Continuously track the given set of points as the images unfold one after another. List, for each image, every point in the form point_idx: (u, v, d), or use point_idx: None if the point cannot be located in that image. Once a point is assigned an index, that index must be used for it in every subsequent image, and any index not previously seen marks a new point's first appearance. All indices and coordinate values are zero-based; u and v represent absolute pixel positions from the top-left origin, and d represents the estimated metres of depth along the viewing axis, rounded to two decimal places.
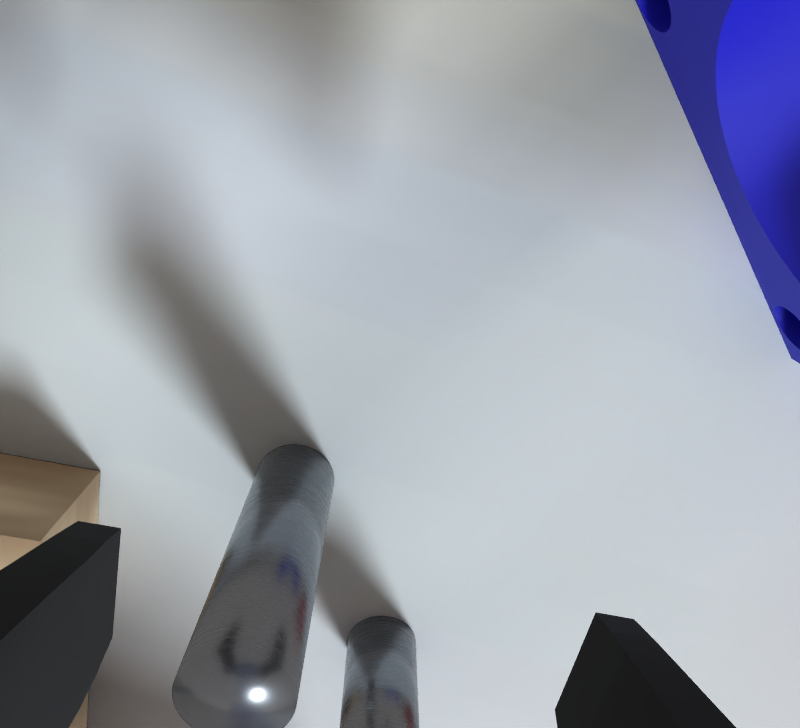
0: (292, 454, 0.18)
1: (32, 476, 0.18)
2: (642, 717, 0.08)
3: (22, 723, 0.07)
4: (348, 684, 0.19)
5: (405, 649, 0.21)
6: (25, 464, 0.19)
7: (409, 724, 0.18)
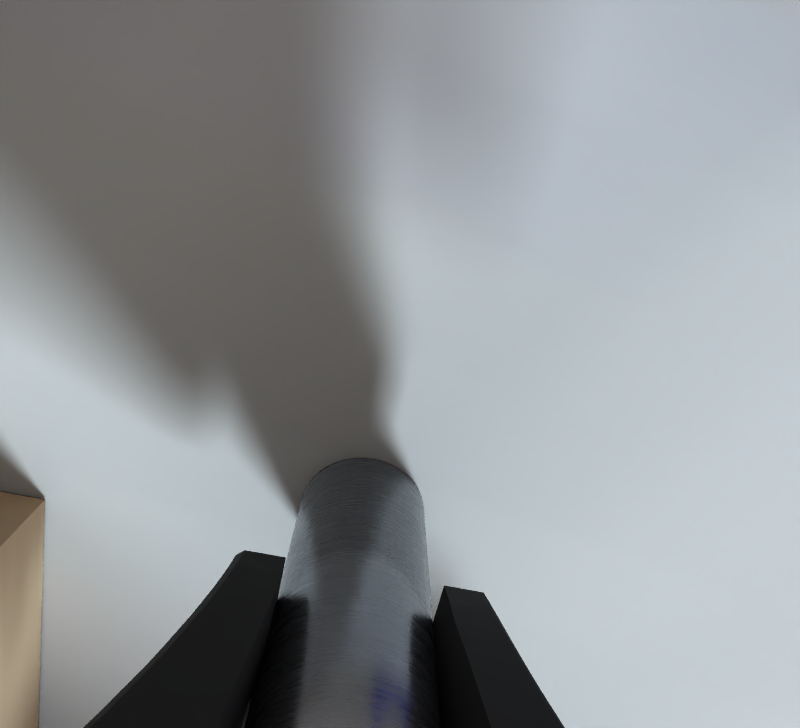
0: (362, 474, 0.11)
1: None
2: (459, 687, 0.07)
3: None
4: None
5: None
6: None
7: None
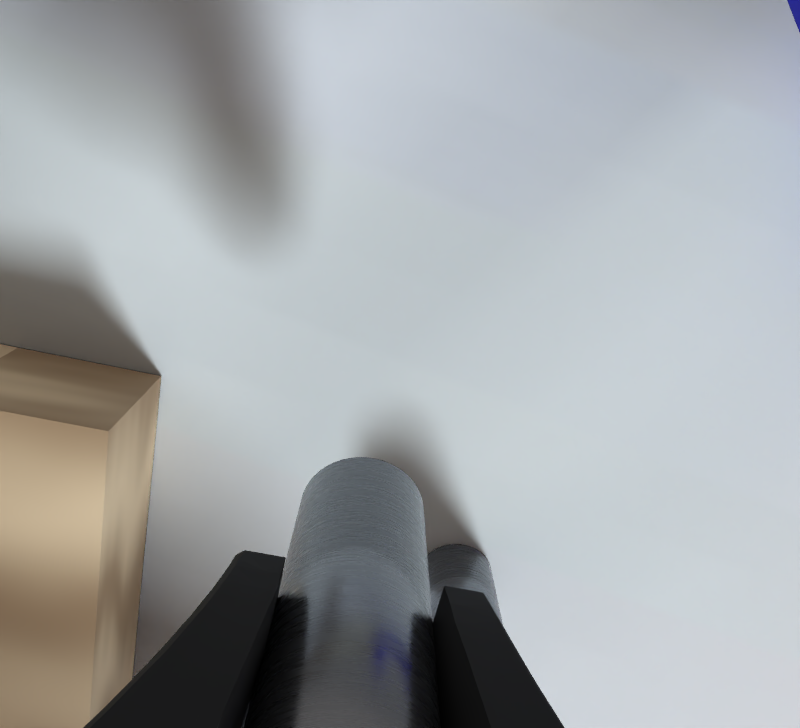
0: (362, 474, 0.11)
1: (90, 375, 0.17)
2: (459, 687, 0.07)
3: None
4: None
5: (485, 577, 0.19)
6: (81, 365, 0.17)
7: None
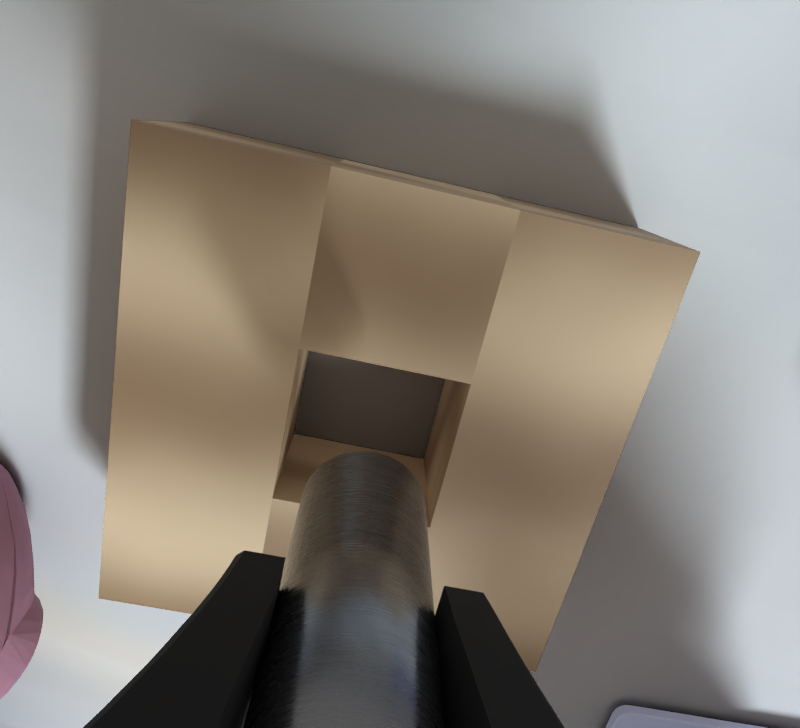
0: (368, 468, 0.11)
1: (591, 219, 0.16)
2: (459, 687, 0.07)
3: None
4: None
5: None
6: (567, 212, 0.16)
7: None
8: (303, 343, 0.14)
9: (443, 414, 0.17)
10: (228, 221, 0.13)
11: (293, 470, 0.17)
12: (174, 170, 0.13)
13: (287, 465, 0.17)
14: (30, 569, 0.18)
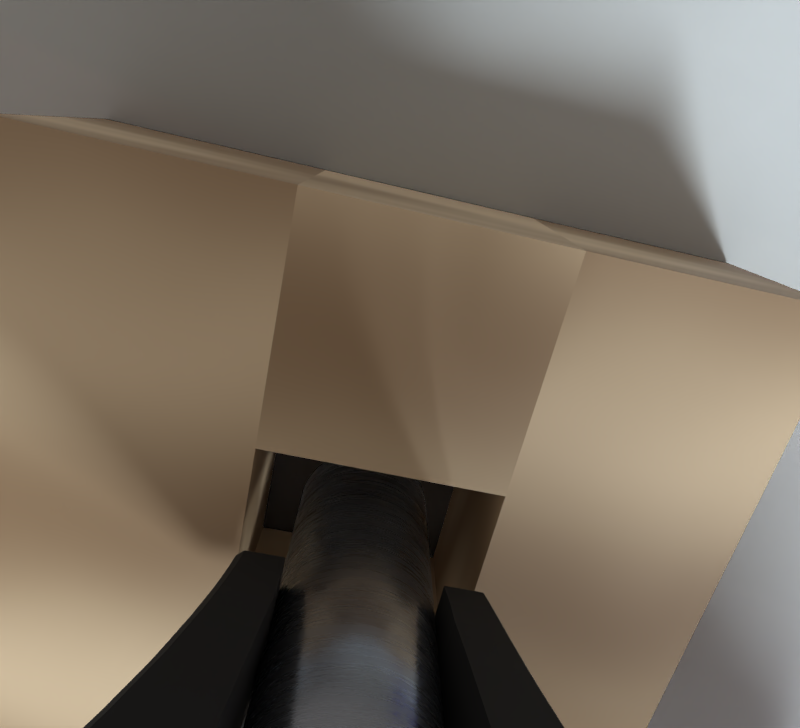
0: None
1: (669, 253, 0.11)
2: (459, 687, 0.07)
3: None
4: None
5: None
6: (632, 242, 0.12)
7: None
8: (261, 441, 0.09)
9: (460, 512, 0.13)
10: (144, 267, 0.09)
11: None
12: (58, 191, 0.08)
13: None
14: None
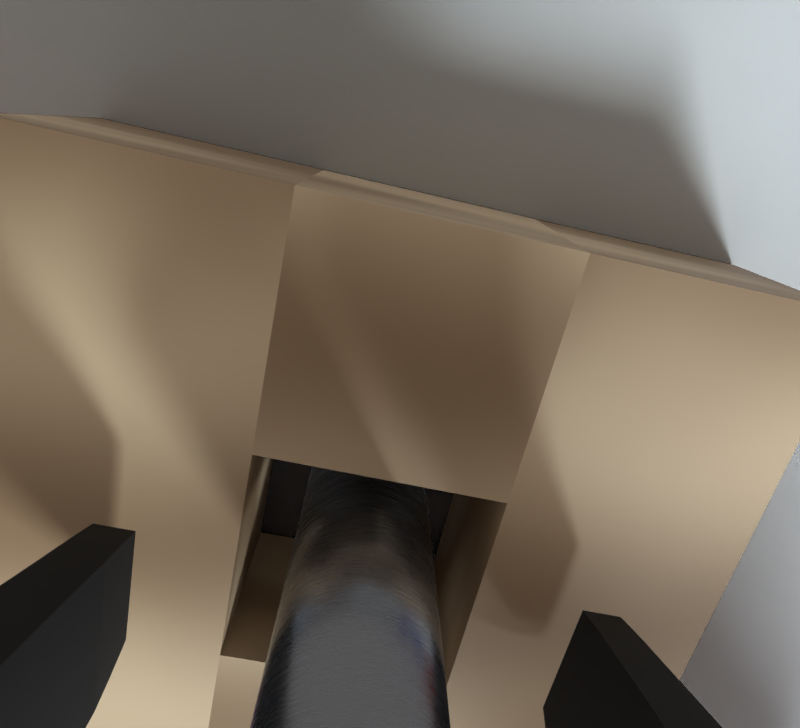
0: None
1: (674, 255, 0.11)
2: (626, 715, 0.08)
3: (41, 726, 0.07)
4: None
5: None
6: (636, 243, 0.11)
7: None
8: (258, 447, 0.09)
9: (461, 518, 0.12)
10: (138, 269, 0.08)
11: (255, 598, 0.12)
12: (48, 192, 0.08)
13: (247, 590, 0.12)
14: None
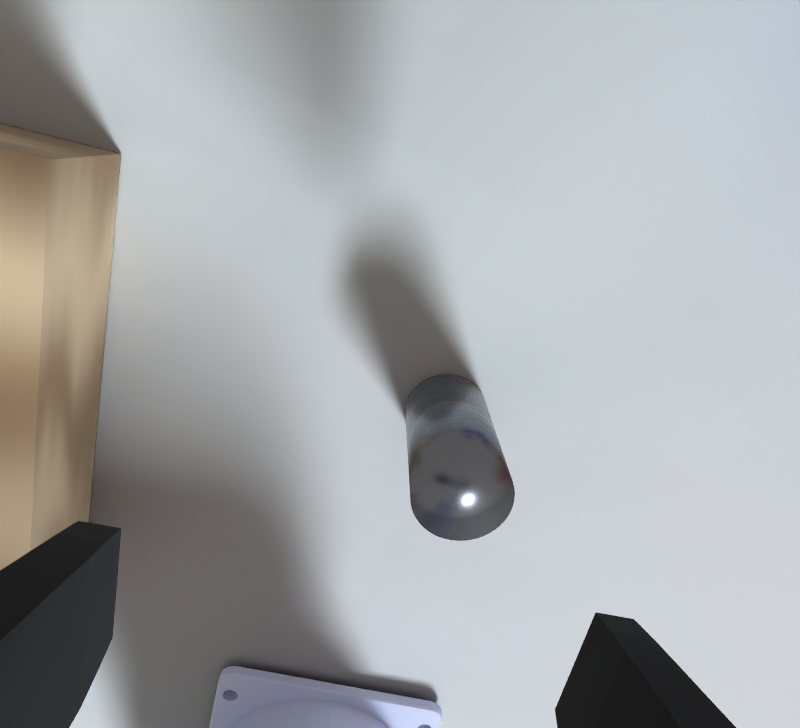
0: None
1: (38, 138, 0.15)
2: (642, 717, 0.08)
3: (22, 723, 0.07)
4: (418, 425, 0.16)
5: (482, 404, 0.17)
6: (29, 132, 0.15)
7: (501, 455, 0.15)
8: None
9: None
10: None
11: None
12: None
13: None
14: None
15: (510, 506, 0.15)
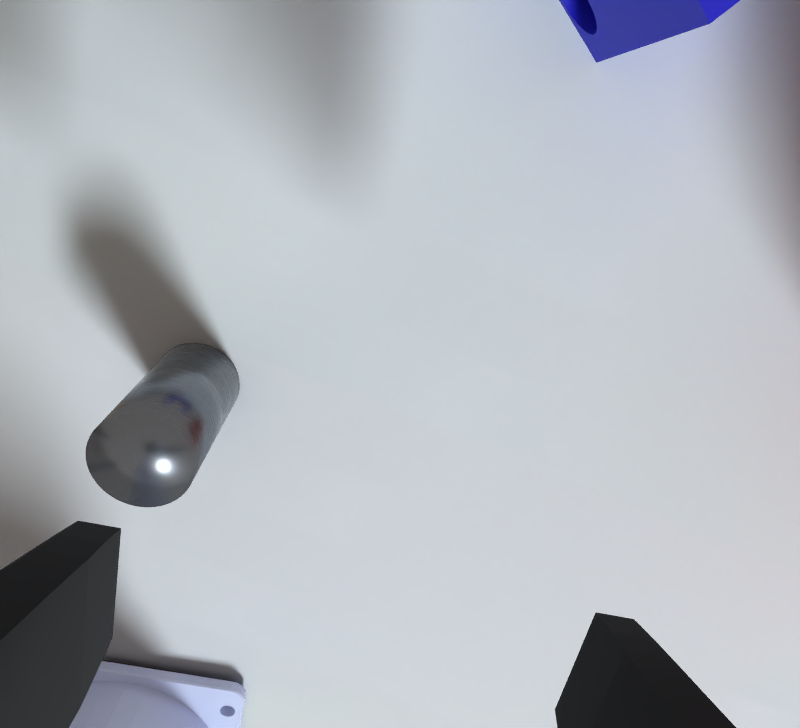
0: None
1: None
2: (642, 717, 0.08)
3: (22, 723, 0.07)
4: (131, 391, 0.16)
5: (216, 372, 0.17)
6: None
7: (188, 420, 0.14)
8: None
9: None
10: None
11: None
12: None
13: None
14: None
15: (196, 471, 0.14)
